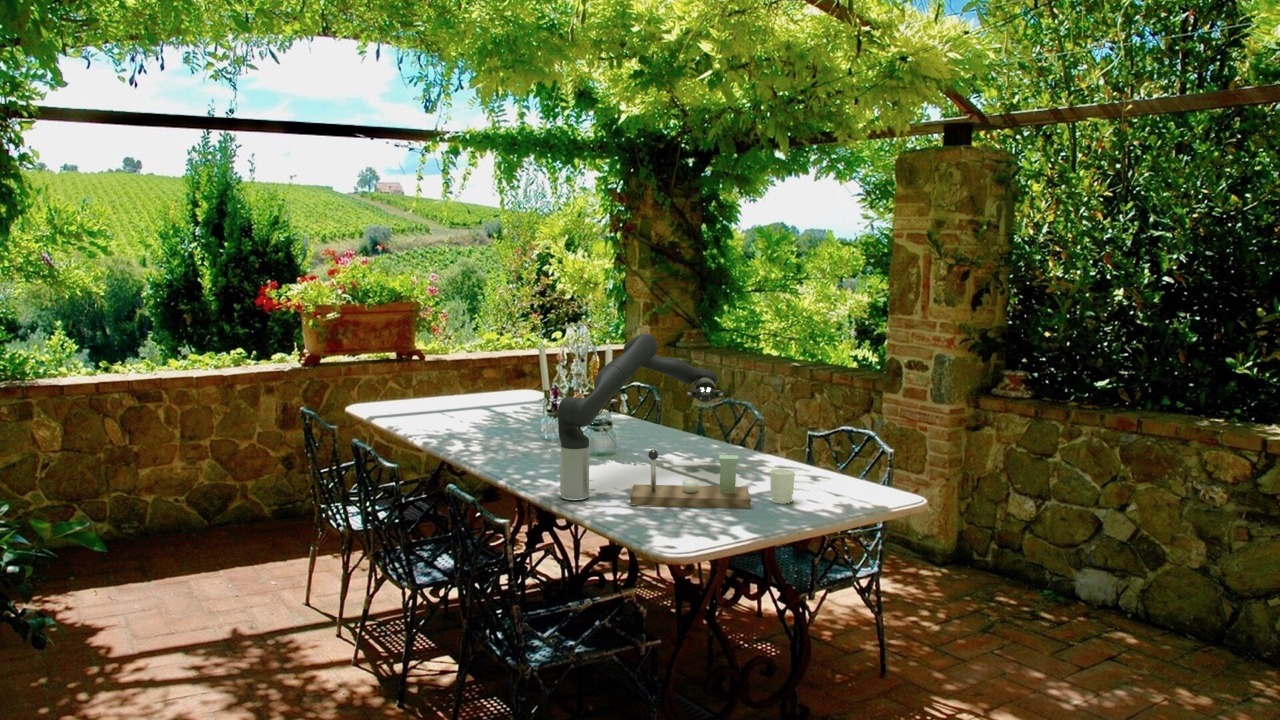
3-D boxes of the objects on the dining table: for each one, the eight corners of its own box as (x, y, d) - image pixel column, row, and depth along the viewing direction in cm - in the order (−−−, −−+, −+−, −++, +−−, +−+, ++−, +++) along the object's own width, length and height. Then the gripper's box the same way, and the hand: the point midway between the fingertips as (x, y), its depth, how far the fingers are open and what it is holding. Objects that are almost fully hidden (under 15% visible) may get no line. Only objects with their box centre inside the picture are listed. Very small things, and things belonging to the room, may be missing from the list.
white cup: (796, 500, 317) (797, 470, 315) (790, 505, 309) (790, 475, 308) (773, 497, 320) (774, 467, 319) (766, 502, 313) (767, 472, 312)
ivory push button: (682, 492, 311) (682, 482, 311) (682, 488, 316) (682, 479, 316) (698, 492, 311) (698, 483, 311) (698, 489, 316) (698, 479, 316)
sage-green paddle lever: (718, 492, 312) (719, 458, 306) (717, 489, 314) (719, 454, 308) (736, 493, 312) (738, 459, 305) (736, 489, 314) (738, 455, 307)
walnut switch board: (630, 505, 307) (630, 496, 307) (633, 493, 323) (633, 484, 323) (750, 508, 305) (750, 499, 305) (747, 495, 321) (747, 487, 321)
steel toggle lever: (648, 492, 313) (647, 453, 305) (648, 486, 316) (648, 447, 307) (658, 492, 313) (658, 454, 304) (658, 486, 315) (658, 447, 307)
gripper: (686, 379, 342) (686, 385, 325) (723, 379, 341) (725, 386, 324) (686, 399, 343) (685, 407, 326) (723, 400, 342) (724, 408, 325)
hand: (705, 397), depth 325 cm, fingers closed
